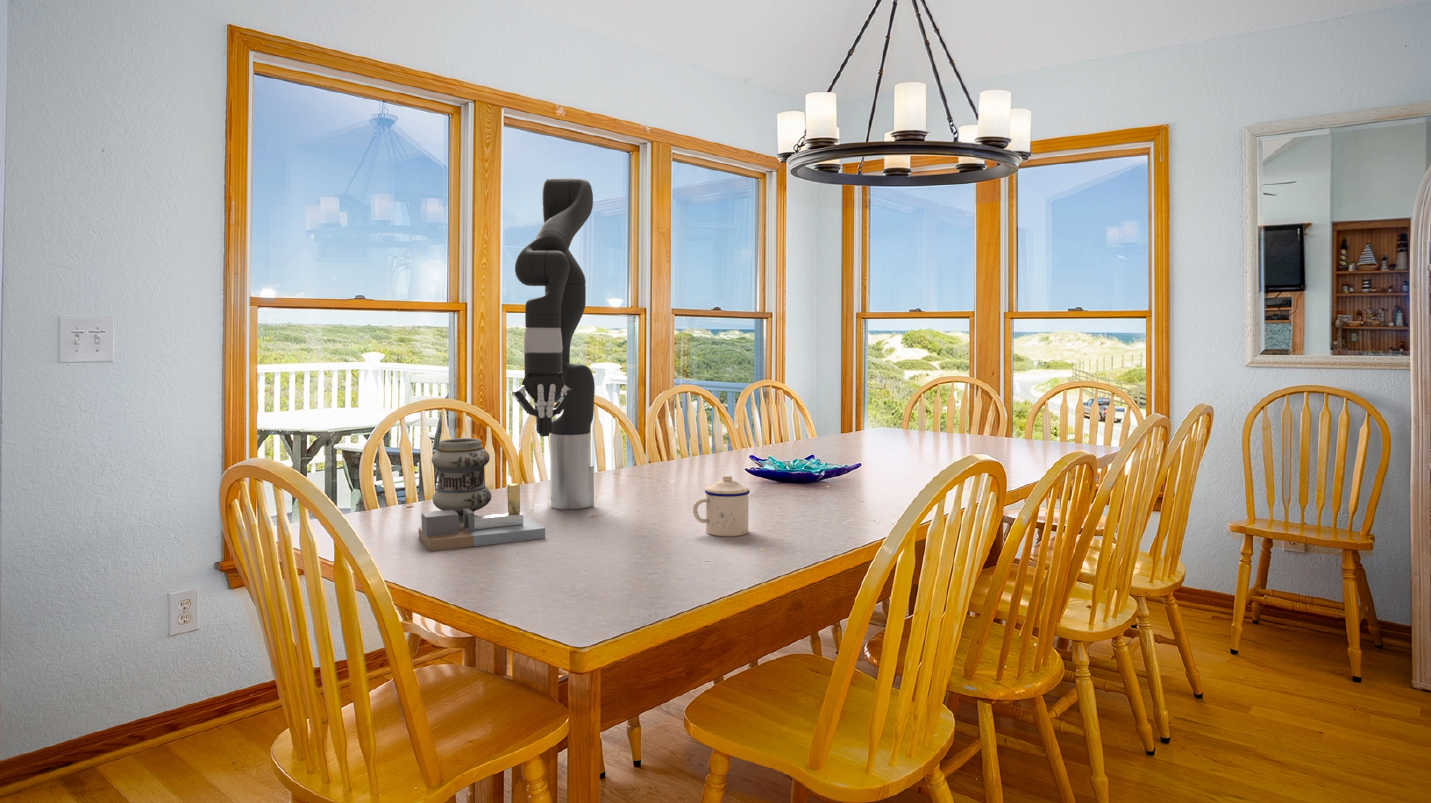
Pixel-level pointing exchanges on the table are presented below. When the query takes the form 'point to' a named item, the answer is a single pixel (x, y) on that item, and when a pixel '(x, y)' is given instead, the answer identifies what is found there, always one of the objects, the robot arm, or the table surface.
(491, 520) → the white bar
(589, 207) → the robot arm
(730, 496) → the teacup with lid
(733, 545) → the table surface
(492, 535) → the door and jamb lock plate
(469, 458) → the apothecary jar
